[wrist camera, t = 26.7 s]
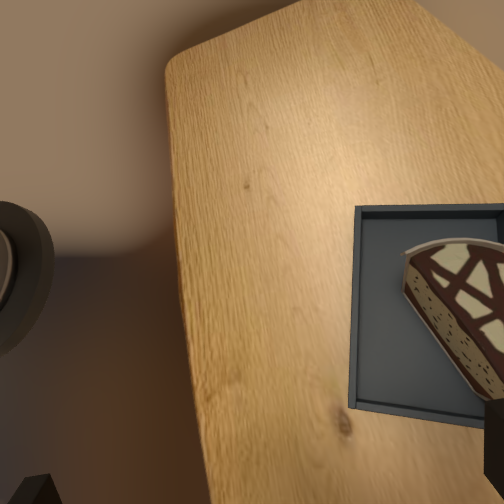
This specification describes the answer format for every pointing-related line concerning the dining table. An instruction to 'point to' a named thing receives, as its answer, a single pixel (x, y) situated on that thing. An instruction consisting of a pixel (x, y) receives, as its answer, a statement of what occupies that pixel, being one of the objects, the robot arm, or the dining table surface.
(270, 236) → the dining table surface
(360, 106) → the dining table surface
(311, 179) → the dining table surface
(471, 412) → the tray
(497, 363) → the food container
